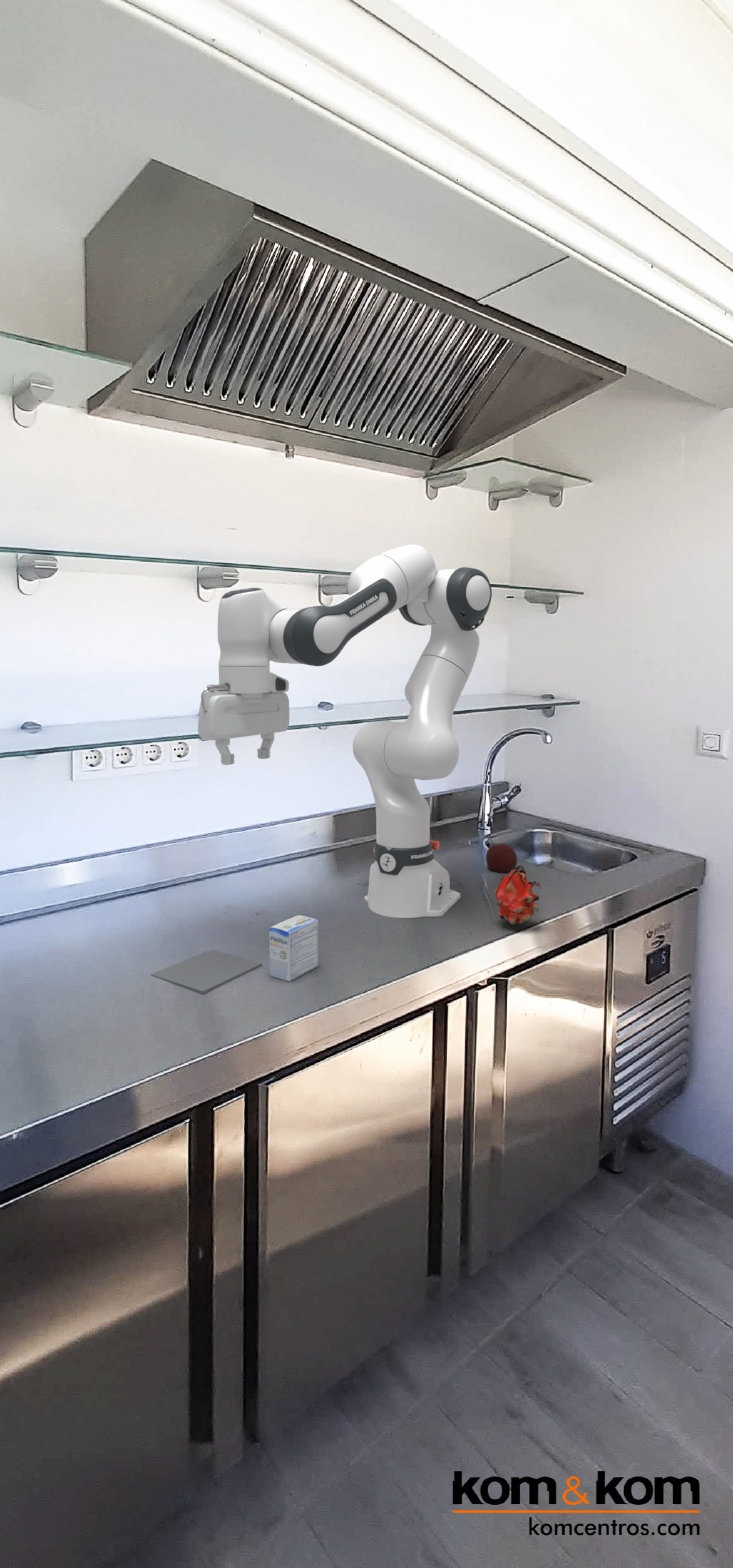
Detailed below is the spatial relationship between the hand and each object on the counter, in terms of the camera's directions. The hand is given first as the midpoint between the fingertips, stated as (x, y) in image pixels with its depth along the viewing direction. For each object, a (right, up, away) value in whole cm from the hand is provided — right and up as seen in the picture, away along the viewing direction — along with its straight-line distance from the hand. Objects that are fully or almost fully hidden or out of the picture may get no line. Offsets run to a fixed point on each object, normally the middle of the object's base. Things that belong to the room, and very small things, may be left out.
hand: (246, 761), depth 146 cm
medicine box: (+9, -36, -7) cm, 38 cm away
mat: (-5, -36, -8) cm, 37 cm away
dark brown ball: (+54, -26, +55) cm, 82 cm away
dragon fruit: (+51, -32, +17) cm, 62 cm away
